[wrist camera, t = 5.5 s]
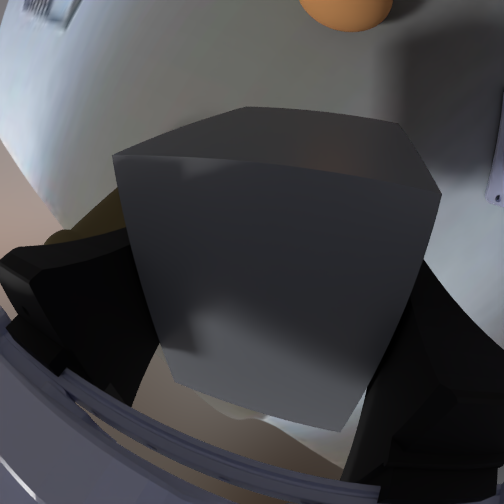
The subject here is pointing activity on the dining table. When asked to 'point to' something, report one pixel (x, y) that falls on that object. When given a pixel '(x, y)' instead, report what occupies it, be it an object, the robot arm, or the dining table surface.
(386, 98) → the dining table surface
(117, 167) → the dark gray square block
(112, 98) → the dining table surface
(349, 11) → the ball
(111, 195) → the cork
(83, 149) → the dining table surface
